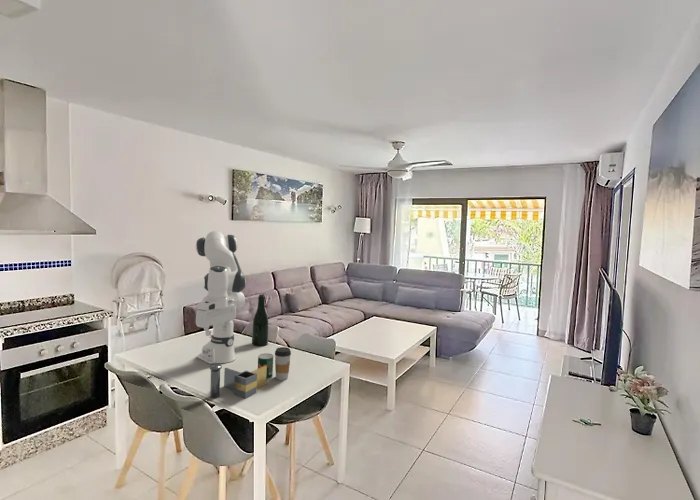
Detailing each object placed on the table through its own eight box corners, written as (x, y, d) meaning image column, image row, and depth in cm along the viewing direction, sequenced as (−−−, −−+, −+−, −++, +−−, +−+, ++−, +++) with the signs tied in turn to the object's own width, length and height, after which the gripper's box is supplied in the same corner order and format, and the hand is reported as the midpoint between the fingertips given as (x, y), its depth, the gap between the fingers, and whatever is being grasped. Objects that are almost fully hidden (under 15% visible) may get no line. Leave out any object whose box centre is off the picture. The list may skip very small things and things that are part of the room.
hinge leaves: (218, 388, 180) (219, 370, 179) (245, 376, 195) (245, 359, 194) (245, 398, 172) (246, 379, 171) (270, 385, 186) (271, 367, 186)
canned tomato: (256, 379, 192) (256, 358, 192) (258, 373, 200) (259, 353, 200) (271, 379, 193) (272, 358, 192) (273, 373, 201) (274, 353, 200)
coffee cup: (286, 381, 191) (287, 353, 190) (271, 379, 193) (272, 351, 192) (292, 375, 200) (293, 347, 199) (277, 373, 201) (278, 346, 200)
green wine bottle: (265, 347, 242) (267, 296, 240) (249, 346, 242) (251, 295, 240) (269, 342, 252) (271, 293, 250) (254, 341, 253) (256, 292, 251)
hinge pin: (206, 396, 171) (207, 366, 170) (215, 392, 176) (216, 363, 175) (214, 399, 169) (215, 369, 168) (223, 395, 173) (224, 365, 172)
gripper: (230, 298, 180) (229, 327, 181) (193, 305, 162) (193, 336, 163) (239, 300, 177) (239, 329, 178) (203, 307, 159) (203, 339, 160)
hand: (216, 333), depth 170 cm, fingers open, 8 cm apart
